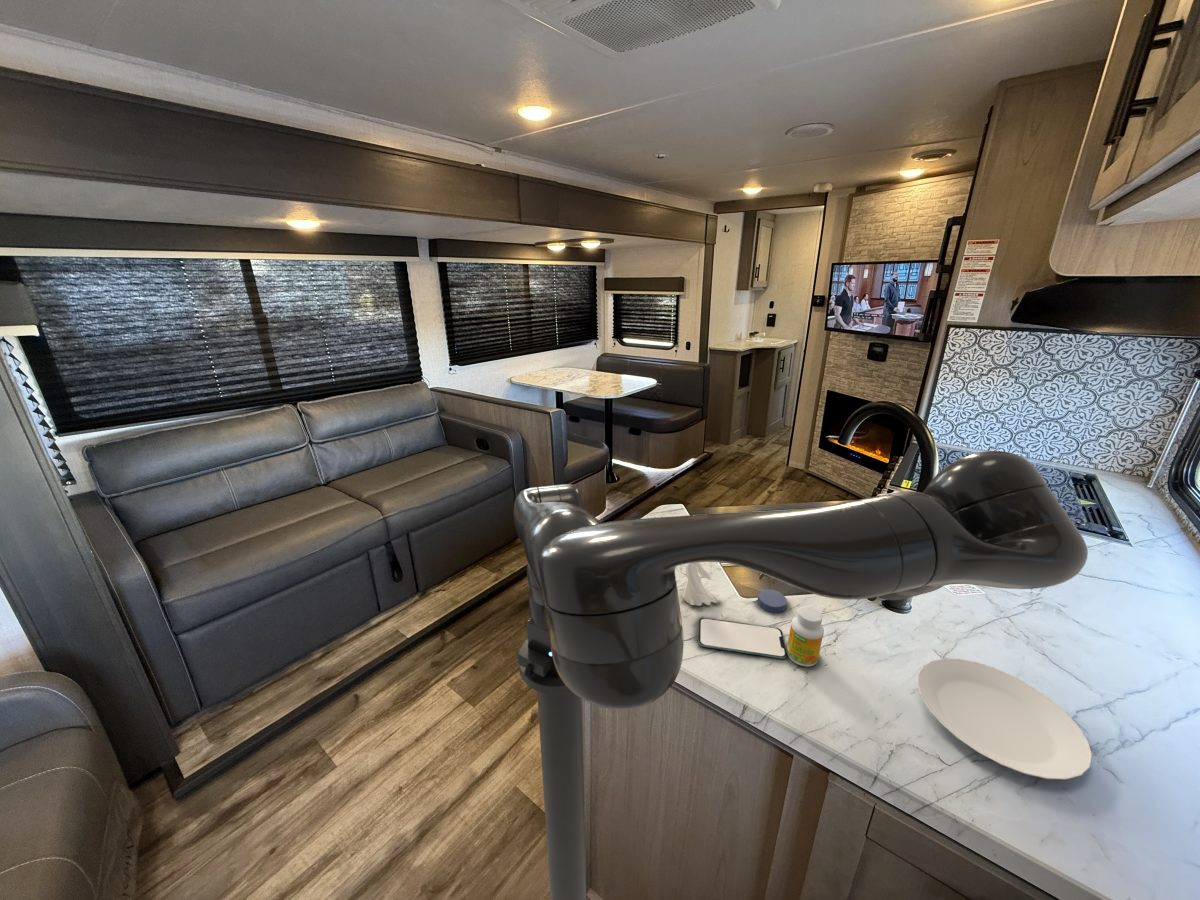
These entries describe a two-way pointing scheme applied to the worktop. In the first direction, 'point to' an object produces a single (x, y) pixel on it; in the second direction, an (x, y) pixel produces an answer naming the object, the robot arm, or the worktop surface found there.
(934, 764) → the worktop surface
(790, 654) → the supplement bottle
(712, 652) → the worktop surface
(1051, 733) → the plate
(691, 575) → the figurine
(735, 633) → the smartphone
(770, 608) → the jar lid
